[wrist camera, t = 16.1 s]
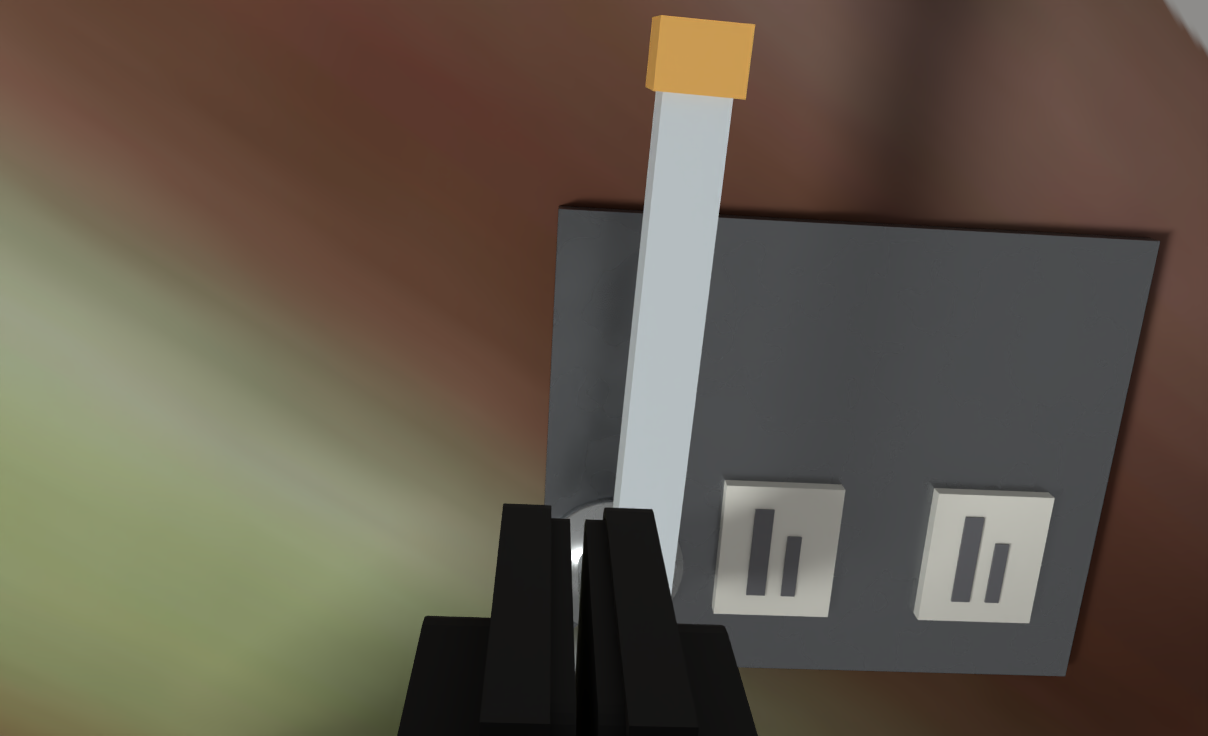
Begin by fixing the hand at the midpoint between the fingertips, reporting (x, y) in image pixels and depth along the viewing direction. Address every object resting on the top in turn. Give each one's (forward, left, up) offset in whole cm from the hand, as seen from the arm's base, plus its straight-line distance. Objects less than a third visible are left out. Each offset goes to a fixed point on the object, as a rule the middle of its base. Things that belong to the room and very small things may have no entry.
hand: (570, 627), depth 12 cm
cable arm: (-5, -3, -23) cm, 24 cm away
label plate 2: (-14, -19, -31) cm, 39 cm away
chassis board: (-10, -12, -31) cm, 35 cm away
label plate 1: (-14, -10, -31) cm, 36 cm away
